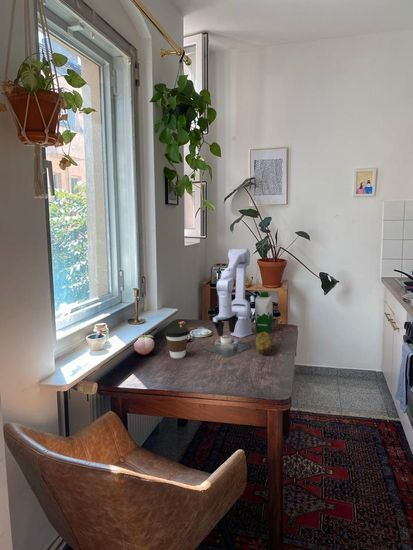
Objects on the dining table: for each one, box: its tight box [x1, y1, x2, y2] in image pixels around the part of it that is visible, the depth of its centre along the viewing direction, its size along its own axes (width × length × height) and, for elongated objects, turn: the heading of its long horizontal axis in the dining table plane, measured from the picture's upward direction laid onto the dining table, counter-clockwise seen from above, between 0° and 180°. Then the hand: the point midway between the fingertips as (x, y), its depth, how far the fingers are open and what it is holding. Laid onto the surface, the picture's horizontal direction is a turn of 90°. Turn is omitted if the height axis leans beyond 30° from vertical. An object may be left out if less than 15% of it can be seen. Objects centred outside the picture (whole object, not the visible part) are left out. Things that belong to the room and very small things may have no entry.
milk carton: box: [254, 291, 274, 334], centre depth 212 cm, size 9×9×20 cm
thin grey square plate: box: [201, 337, 252, 358], centre depth 188 cm, size 16×16×4 cm
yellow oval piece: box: [255, 332, 273, 355], centre depth 183 cm, size 8×13×8 cm, turn 159°
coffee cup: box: [164, 326, 190, 359], centre depth 181 cm, size 11×11×12 cm
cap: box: [220, 334, 232, 344], centre depth 188 cm, size 5×5×5 cm
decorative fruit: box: [133, 333, 155, 356], centre depth 184 cm, size 9×8×10 cm
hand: (226, 333), depth 188 cm, fingers open, 7 cm apart
